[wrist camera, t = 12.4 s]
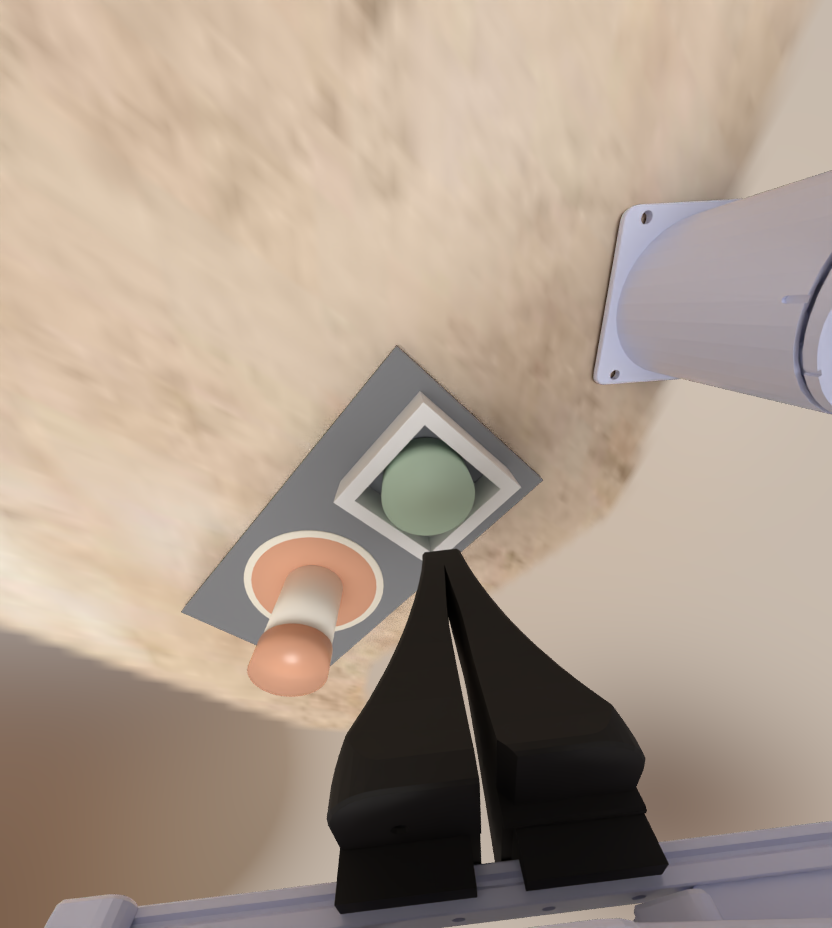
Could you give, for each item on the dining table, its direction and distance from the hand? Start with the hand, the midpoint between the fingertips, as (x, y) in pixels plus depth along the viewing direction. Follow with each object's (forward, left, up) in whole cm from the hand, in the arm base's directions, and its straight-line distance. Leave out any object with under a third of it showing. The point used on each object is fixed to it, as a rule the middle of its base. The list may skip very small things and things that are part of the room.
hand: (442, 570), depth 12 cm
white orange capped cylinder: (+8, +8, -8) cm, 14 cm away
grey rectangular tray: (+5, +5, -9) cm, 11 cm away
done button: (0, 0, -8) cm, 8 cm away
